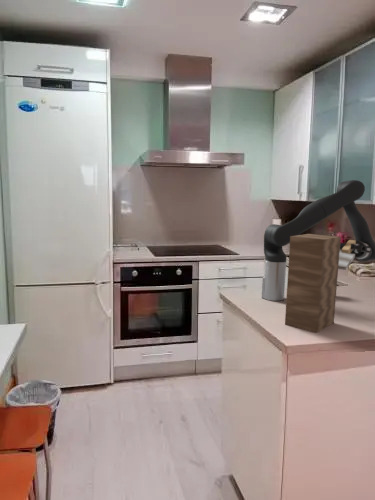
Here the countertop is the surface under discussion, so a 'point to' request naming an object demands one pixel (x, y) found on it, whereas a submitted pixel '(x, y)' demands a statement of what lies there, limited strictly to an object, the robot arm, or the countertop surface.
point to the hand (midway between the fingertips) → (347, 245)
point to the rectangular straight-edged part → (346, 255)
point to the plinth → (312, 281)
